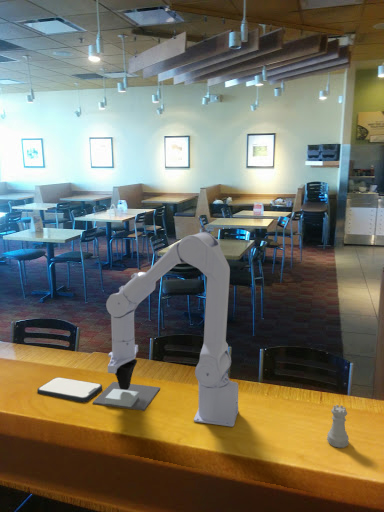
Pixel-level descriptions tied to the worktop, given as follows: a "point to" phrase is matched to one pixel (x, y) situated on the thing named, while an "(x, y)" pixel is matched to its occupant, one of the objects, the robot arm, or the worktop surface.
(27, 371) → the worktop surface
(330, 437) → the rook chess piece
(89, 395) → the smartphone
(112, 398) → the block
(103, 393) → the mat
